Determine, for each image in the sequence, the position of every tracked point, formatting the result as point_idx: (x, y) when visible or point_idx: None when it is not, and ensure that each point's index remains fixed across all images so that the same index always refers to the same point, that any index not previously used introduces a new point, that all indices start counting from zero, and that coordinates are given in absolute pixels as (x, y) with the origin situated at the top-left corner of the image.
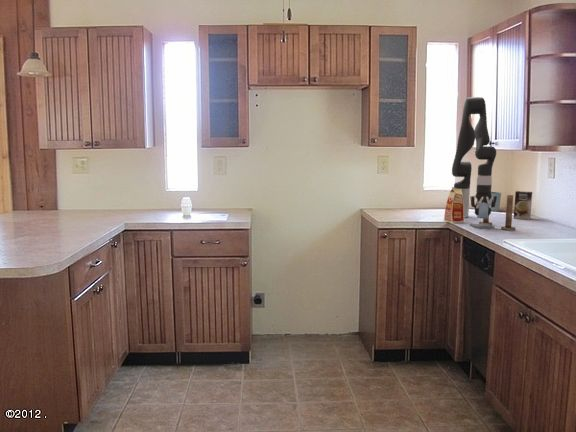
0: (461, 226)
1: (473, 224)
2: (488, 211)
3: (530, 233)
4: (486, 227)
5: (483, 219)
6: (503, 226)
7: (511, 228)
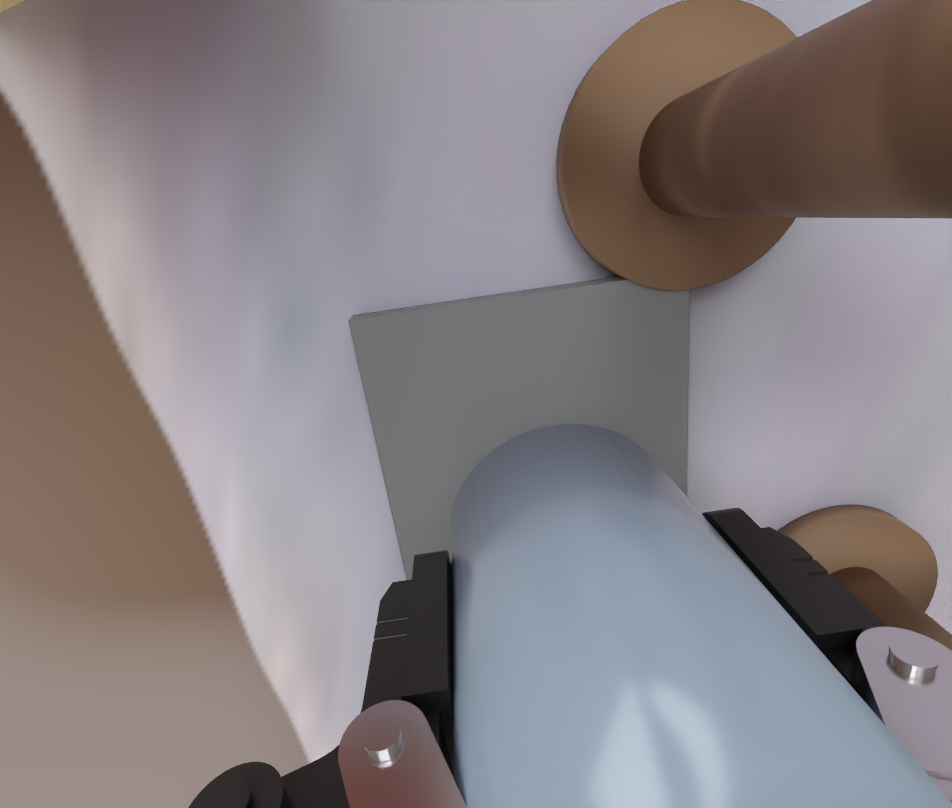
0: (204, 446)
1: (407, 381)
2: None
3: None
4: None
5: (666, 170)
6: (817, 538)
7: None
